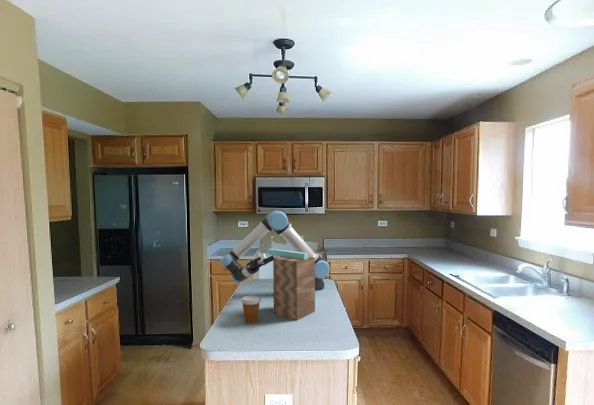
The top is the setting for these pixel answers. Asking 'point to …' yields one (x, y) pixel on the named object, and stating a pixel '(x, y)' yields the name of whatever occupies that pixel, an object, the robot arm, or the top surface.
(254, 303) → the disposable coffee cup
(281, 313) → the stand
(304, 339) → the top surface
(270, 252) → the bar
